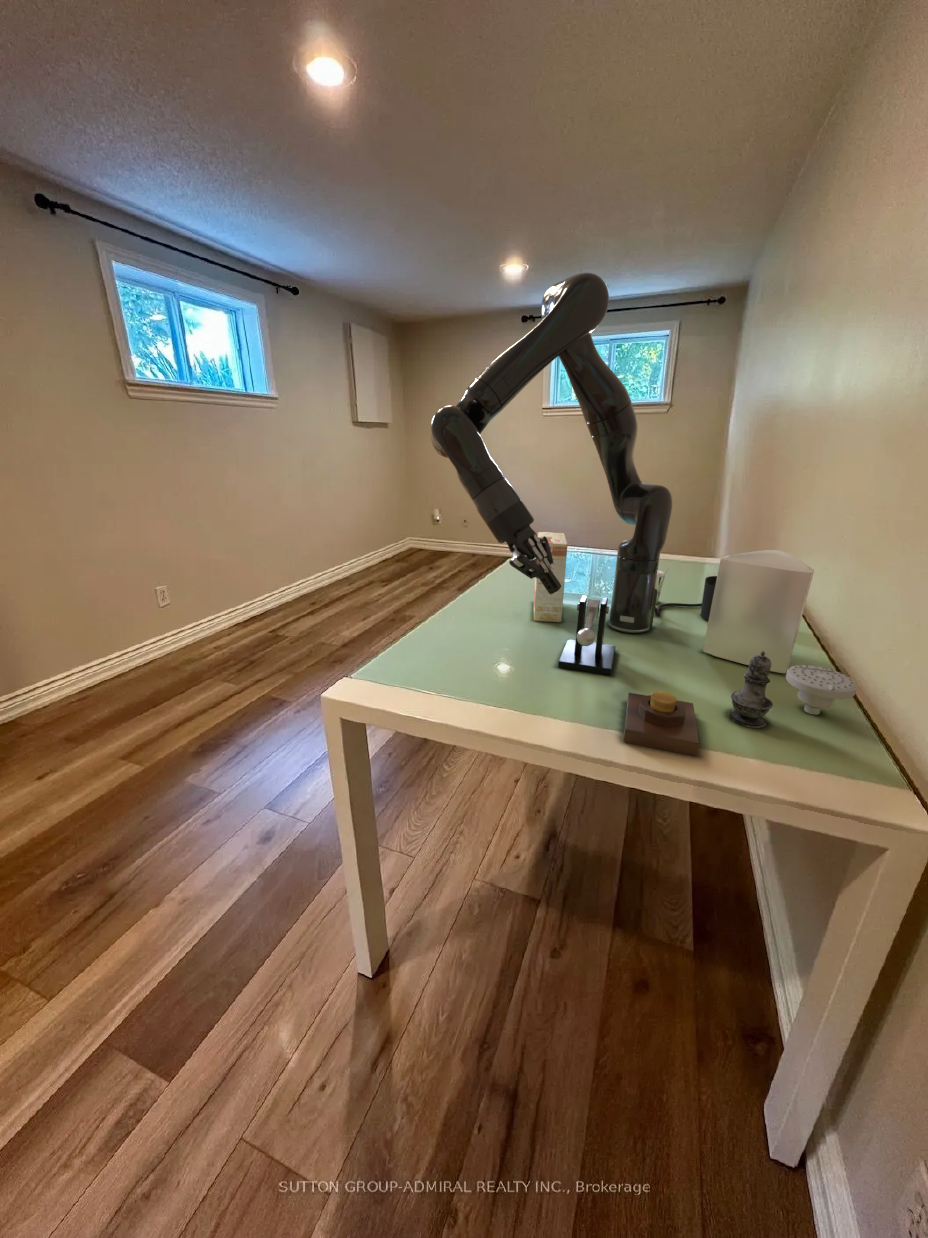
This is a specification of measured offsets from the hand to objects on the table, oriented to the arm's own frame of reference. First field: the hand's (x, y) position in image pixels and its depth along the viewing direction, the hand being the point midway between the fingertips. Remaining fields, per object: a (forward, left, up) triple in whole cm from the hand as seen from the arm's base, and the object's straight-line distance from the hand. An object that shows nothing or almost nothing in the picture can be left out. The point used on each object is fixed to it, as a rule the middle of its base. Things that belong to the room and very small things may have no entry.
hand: (556, 590), depth 89 cm
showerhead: (-31, +30, -17) cm, 47 cm away
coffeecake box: (-20, -30, -17) cm, 39 cm away
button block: (-4, +23, -16) cm, 29 cm away
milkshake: (-52, -25, -17) cm, 59 cm away
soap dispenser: (-44, +10, -17) cm, 48 cm away
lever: (-7, +1, -8) cm, 11 cm away
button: (-4, +23, -13) cm, 27 cm away
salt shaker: (-19, +27, -17) cm, 37 cm away
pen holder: (-57, -8, -17) cm, 59 cm away
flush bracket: (-10, -2, -16) cm, 20 cm away
